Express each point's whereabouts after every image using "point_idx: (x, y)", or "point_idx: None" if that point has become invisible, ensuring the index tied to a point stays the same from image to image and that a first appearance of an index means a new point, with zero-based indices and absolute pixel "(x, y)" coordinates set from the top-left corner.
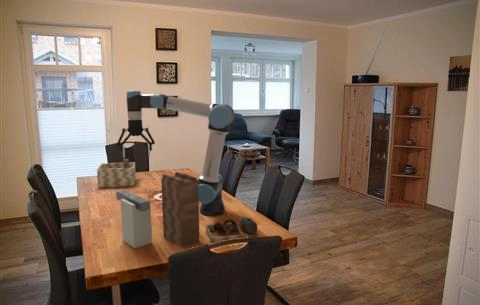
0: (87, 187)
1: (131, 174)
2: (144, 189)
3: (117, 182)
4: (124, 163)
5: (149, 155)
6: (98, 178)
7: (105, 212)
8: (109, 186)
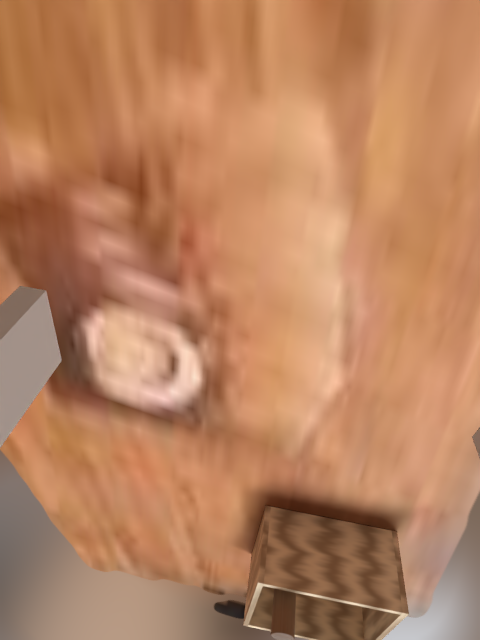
0: (432, 546)
1: (270, 553)
2: (233, 461)
3: (326, 534)
4: (291, 616)
5: (12, 304)
6: (399, 570)
7: (466, 254)
8: (356, 526)
